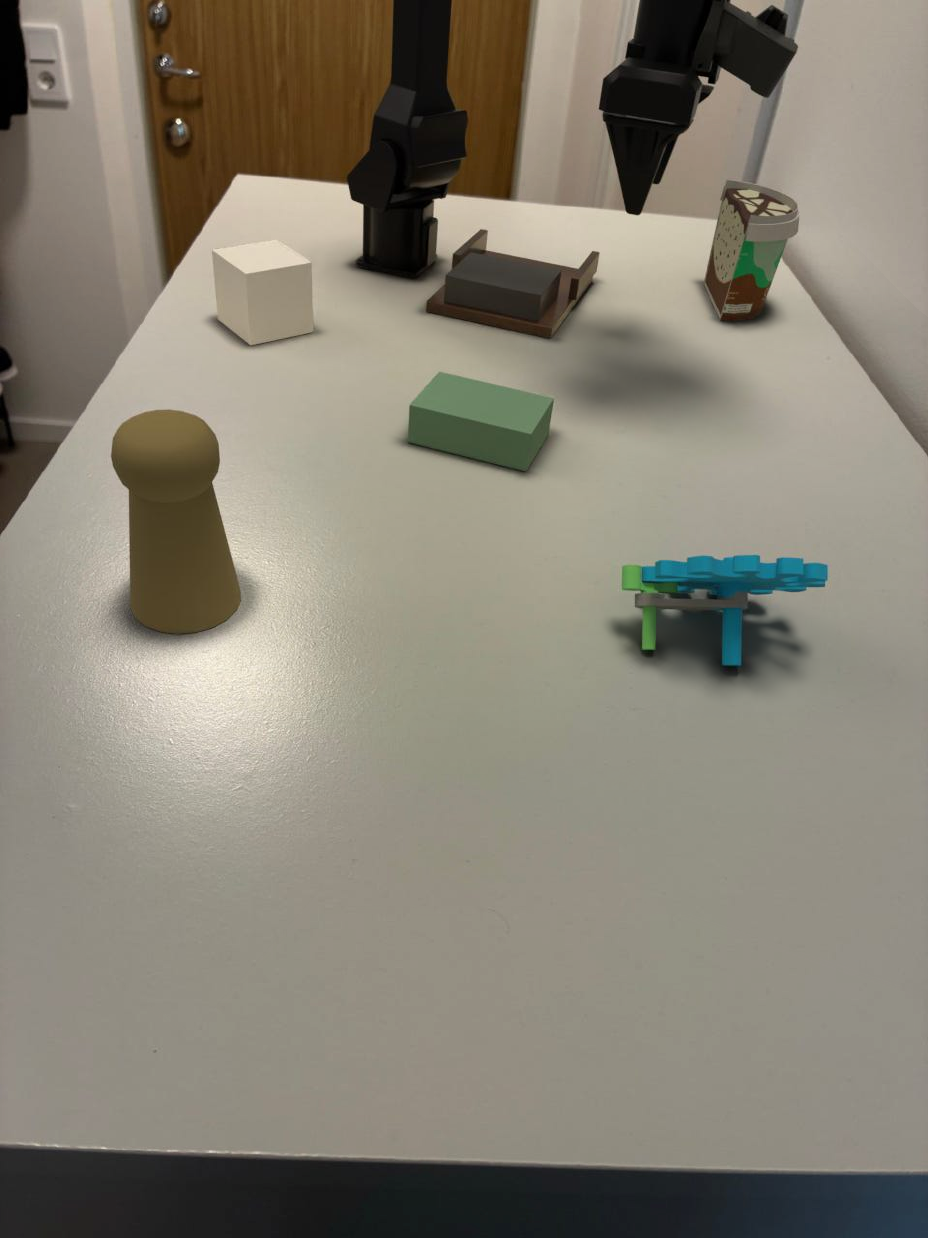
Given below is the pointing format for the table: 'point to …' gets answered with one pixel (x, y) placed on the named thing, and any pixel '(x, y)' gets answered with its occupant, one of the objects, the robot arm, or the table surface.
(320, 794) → the table surface
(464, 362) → the table surface
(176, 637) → the table surface
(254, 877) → the table surface
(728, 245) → the food container
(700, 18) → the robot arm
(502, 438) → the sage pad
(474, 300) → the frame
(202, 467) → the cork
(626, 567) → the gear
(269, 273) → the cream cube
